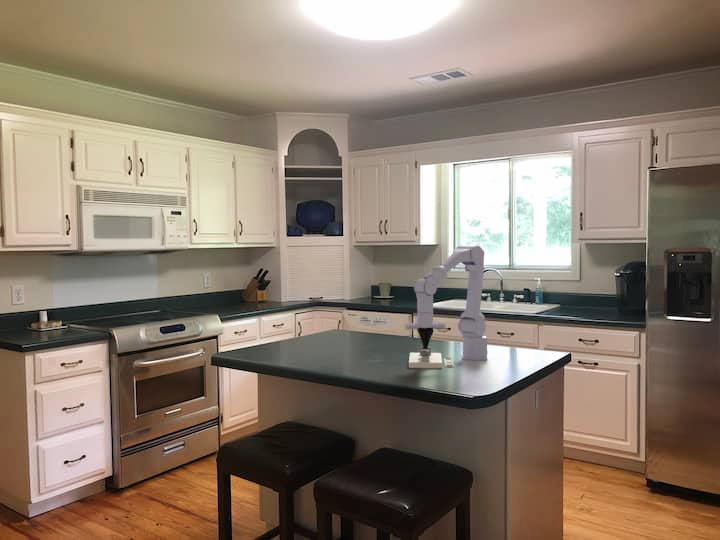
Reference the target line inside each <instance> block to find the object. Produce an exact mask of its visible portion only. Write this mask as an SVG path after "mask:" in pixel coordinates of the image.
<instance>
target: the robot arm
mask: <svg viewBox="0 0 720 540" xmlns="http://www.w3.org/2000/svg"><path fill="white" fill-rule="evenodd" d="M484 260H485V251H484V249H483V248H482V247H481V246H480V245H476V244H475V245H462V244H461V245H458V246H457V247H456V248H454V249H453V252H452V254H451V255H449V257H448V258H447V259H446V260H445V261H444V262H443V263H442V264H441V265H436V266H433V267H432V268H431V271H429V272H428V273H427V274H425V275H424V277H423V278H419V279H417V280H416V281H415V283H414V286H413V290H414V292H415V294H416V297H415V298H416V299H417V301H416V302H417V303H416V305H417V308H416V309H417V312H416V313H417V315H416V316H417V317H416V319H417V322H413V323H405V325H404V327H405V328H404V329H405V331H406V330H407V331H408V330H416V331H417V333H418V335H419V337H420V340H421V345H422V347H423V349H428V347H429V344H430V342H431V341H430V340H431V338H432V336H433V334H434V330H437V329H438V330H441V329H442V330H446V323H445V322H434V295H435V294H436V292H437V290H438V287H439V285H440V284H441V283H443V282H444V281H445V280H446V279H447V278H448V273H449V272H450V271H451V270H452V269H454V268H455V267H456V266H458V265H459V264H460V263H461V264H462V265H464V266H465V267H466V268H467V269H468V270H469V272H468V282H467V283H468V284H467V292H466V293H467V294H466V295H467V296H466V304H465V310H464V311H463V312H462V313H461V314H460V319H459V321H458V324H457V325H458V326H457V328H458V331H459V332H460V335H461V336H462V354H461V355H460V357H461V360H462V361H488V338H487V336H486V335H484V334H485V332H486V330H487V325H486V317H485V315H484V314H483V313H482V312H481V303H482V294H483V293H482V292H483V285H484V284H483V282H484V271H485V265H484Z"/></svg>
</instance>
